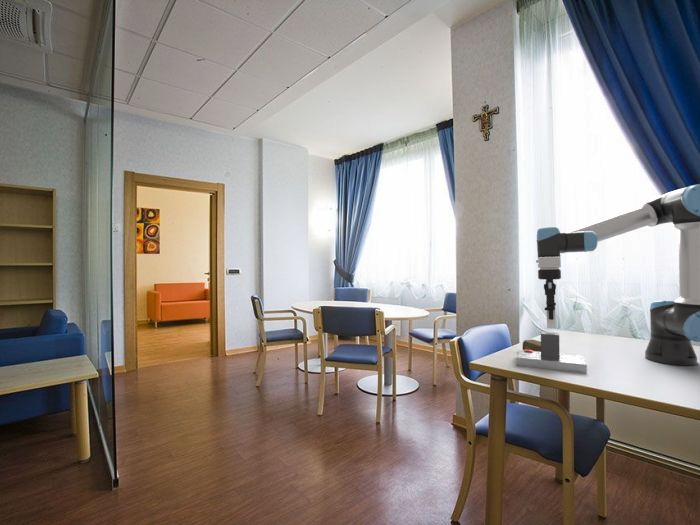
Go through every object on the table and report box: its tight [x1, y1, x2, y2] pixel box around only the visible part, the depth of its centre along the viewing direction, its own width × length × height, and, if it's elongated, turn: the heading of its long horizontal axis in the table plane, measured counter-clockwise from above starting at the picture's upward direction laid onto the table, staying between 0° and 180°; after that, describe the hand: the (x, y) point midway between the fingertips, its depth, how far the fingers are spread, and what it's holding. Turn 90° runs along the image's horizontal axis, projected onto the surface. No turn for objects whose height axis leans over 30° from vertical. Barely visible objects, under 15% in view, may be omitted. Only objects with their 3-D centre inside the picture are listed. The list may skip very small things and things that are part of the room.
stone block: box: [522, 339, 541, 352], centre depth 153 cm, size 6×12×5 cm, turn 15°
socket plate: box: [516, 349, 588, 374], centre depth 136 cm, size 22×13×4 cm, turn 62°
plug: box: [540, 331, 561, 359], centre depth 136 cm, size 6×5×12 cm
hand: (551, 325), depth 136 cm, fingers open, 13 cm apart
